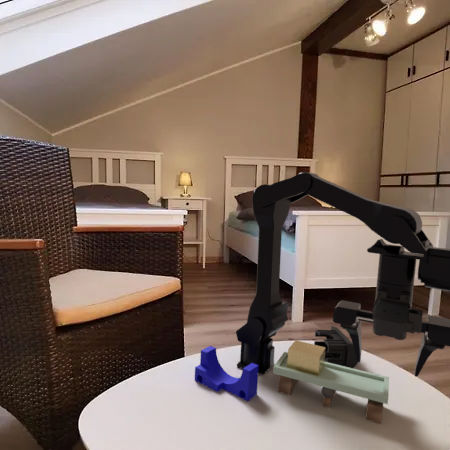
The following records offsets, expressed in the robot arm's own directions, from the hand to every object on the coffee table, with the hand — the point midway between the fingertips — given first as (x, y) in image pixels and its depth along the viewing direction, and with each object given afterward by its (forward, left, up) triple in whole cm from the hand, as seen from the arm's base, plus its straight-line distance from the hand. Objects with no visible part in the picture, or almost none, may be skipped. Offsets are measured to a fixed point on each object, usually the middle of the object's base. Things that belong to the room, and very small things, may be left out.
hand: (386, 368), depth 64 cm
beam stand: (-9, 0, -9) cm, 13 cm away
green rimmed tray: (-9, 0, -5) cm, 11 cm away
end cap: (-11, +16, -9) cm, 22 cm away
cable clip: (-28, -7, -9) cm, 30 cm away
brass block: (-14, 0, -4) cm, 15 cm away
